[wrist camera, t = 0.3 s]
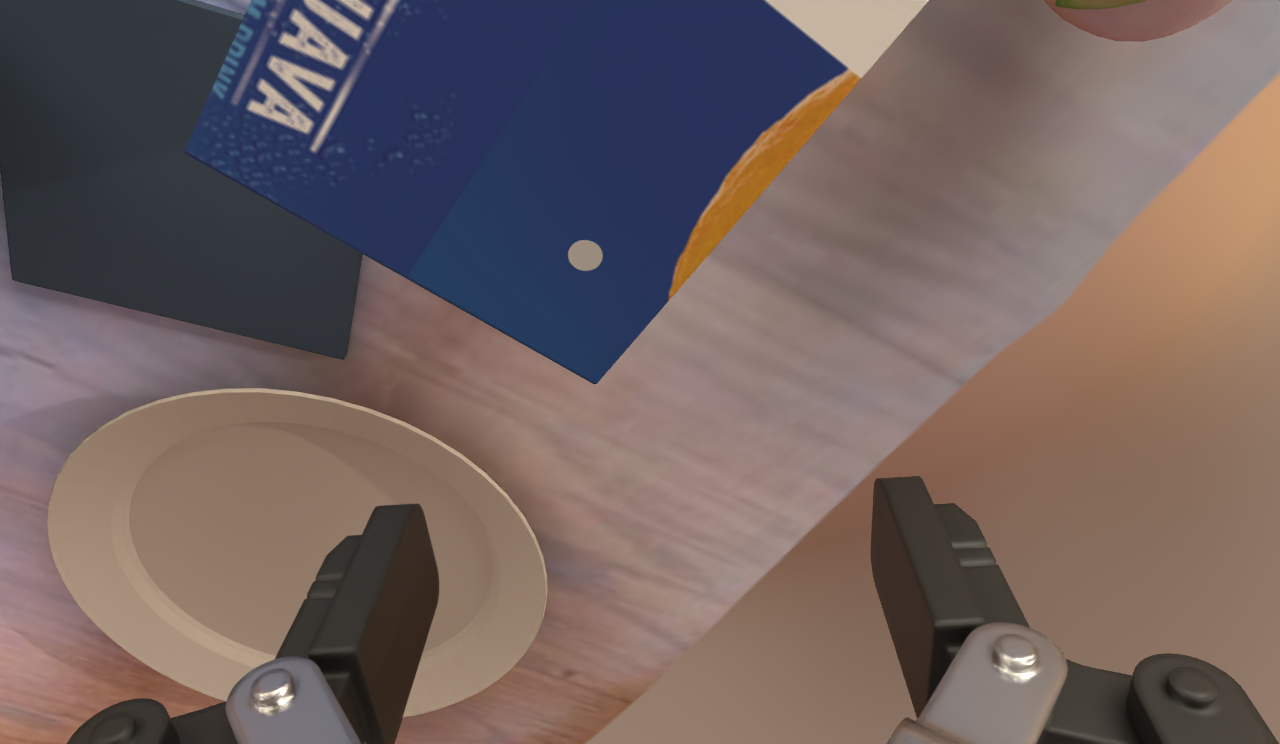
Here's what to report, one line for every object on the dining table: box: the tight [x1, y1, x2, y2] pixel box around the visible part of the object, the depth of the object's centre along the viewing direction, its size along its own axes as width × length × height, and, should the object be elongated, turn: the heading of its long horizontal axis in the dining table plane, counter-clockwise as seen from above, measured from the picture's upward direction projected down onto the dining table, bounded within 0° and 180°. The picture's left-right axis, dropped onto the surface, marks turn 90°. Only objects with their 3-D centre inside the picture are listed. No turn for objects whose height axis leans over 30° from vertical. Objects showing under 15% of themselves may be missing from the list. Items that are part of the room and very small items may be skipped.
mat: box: [0, 0, 362, 360], centre depth 36 cm, size 14×14×1 cm
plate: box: [47, 388, 547, 717], centre depth 48 cm, size 26×26×2 cm
